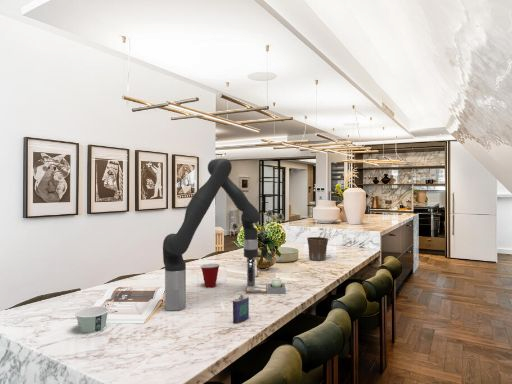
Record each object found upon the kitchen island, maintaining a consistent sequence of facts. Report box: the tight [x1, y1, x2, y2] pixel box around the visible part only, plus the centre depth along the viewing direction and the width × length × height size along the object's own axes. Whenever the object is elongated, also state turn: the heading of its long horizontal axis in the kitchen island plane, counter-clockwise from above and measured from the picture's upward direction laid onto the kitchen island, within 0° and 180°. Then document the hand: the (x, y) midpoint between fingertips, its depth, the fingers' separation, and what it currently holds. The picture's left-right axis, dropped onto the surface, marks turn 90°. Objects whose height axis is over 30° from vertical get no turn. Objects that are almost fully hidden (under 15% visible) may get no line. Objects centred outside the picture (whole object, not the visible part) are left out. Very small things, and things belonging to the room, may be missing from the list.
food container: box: [74, 305, 110, 333], centre depth 140 cm, size 12×12×6 cm
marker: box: [246, 263, 256, 287], centre depth 190 cm, size 4×4×11 cm
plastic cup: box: [199, 263, 221, 289], centre depth 200 cm, size 11×11×12 cm
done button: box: [271, 279, 282, 287], centre depth 189 cm, size 5×5×4 cm
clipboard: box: [245, 283, 268, 295], centre depth 194 cm, size 16×11×1 cm
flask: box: [232, 293, 250, 325], centre depth 148 cm, size 9×3×11 cm, turn 144°
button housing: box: [267, 282, 287, 295], centre depth 189 cm, size 9×9×3 cm
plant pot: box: [306, 236, 329, 262], centre depth 275 cm, size 16×16×16 cm
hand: (251, 280), depth 190 cm, fingers closed on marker, 4 cm apart
